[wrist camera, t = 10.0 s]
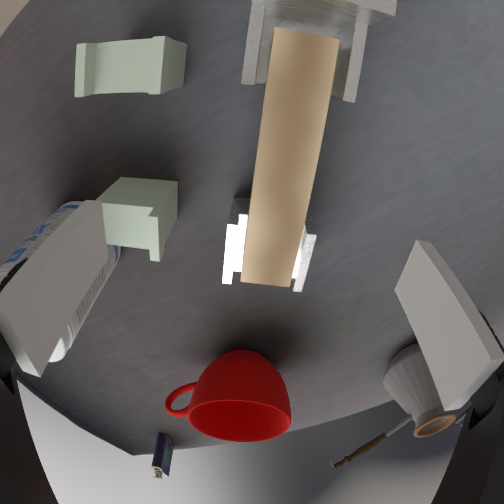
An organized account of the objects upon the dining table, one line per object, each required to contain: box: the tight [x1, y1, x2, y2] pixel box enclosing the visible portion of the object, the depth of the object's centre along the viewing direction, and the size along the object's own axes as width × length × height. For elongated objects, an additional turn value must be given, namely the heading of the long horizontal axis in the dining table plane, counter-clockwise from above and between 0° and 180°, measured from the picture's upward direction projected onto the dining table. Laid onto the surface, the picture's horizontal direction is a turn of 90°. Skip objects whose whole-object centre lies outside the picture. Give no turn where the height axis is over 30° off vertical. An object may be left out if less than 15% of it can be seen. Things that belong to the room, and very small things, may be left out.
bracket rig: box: [222, 0, 397, 292], centre depth 21 cm, size 7×24×12 cm, turn 173°
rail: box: [240, 27, 340, 287], centre depth 22 cm, size 4×19×4 cm, turn 173°
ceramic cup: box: [165, 349, 291, 442], centre depth 39 cm, size 13×17×10 cm
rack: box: [75, 36, 187, 262], centre depth 23 cm, size 7×17×8 cm, turn 173°
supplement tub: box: [0, 201, 121, 362], centre depth 26 cm, size 10×10×15 cm
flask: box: [152, 433, 174, 479], centre depth 58 cm, size 9×3×11 cm, turn 0°
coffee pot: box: [328, 343, 456, 470], centre depth 38 cm, size 21×12×15 cm, turn 112°
